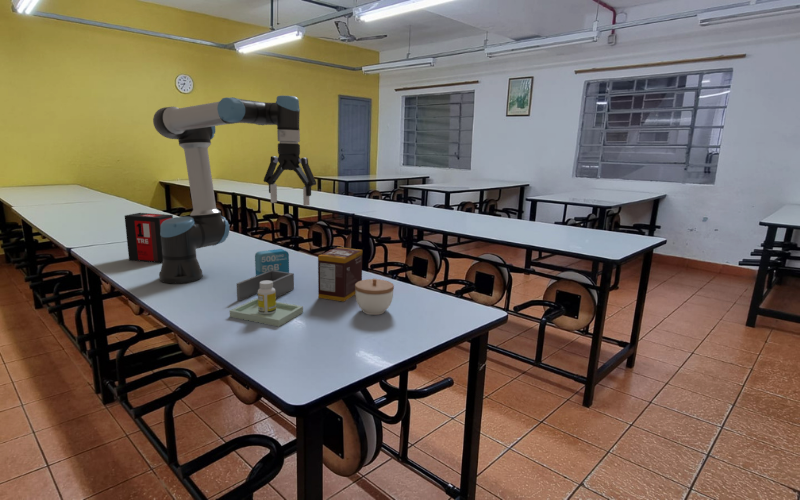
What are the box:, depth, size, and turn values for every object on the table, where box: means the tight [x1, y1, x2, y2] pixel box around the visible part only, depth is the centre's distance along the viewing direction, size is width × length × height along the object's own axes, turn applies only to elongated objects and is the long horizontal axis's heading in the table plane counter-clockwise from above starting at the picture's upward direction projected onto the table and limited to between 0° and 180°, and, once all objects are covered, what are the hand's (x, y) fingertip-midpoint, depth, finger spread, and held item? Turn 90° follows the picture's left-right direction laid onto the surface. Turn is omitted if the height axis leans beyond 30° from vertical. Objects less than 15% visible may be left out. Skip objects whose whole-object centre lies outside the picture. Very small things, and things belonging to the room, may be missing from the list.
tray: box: [229, 297, 304, 327], centre depth 141 cm, size 18×13×2 cm
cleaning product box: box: [124, 212, 174, 264], centre depth 199 cm, size 16×9×20 cm, turn 80°
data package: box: [254, 248, 290, 276], centre depth 175 cm, size 12×4×12 cm, turn 129°
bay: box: [236, 270, 295, 301], centre depth 159 cm, size 10×19×6 cm, turn 160°
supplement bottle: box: [257, 280, 277, 314], centre depth 140 cm, size 5×5×10 cm
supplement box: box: [317, 246, 363, 303], centre depth 162 cm, size 10×15×16 cm
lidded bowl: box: [354, 278, 395, 316], centre depth 147 cm, size 13×13×11 cm
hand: (290, 204), depth 160 cm, fingers open, 13 cm apart
